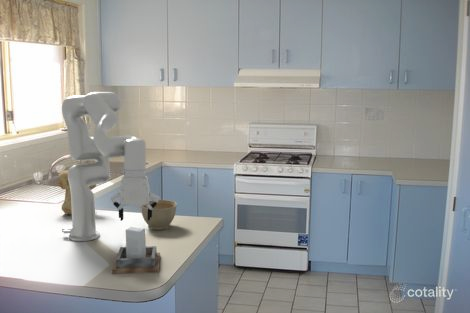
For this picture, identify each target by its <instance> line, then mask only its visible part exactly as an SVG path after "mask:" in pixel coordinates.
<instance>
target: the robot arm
mask: <svg viewBox="0 0 470 313" xmlns="http://www.w3.org/2000/svg"><path fill="white" fill-rule="evenodd" d="M121 102H122V101H121V99H120V96H118V94H117V93H116V92H114V91H113V92H112V91H93V92H90V93H89V92H88V93H87V94H86V95H72V96H67V97H66V98H65V99H64V100H63V101H62V105H61V113H62V118H63V120H64V123H65V125H66V129H67V131H66V132H67V140H68V143H67V144H68V152H69V156H70V158H71V159H72V160H73V161H79V162H80V161H89V160H90V161H91V160H94V162H84V163H78V164H77V163H76V164H74V165H72V166H70V167H69V168H68V180H69V184H70V190H71V206H72V215H71V226H70V227H62V228H61V229H62V230H61V232H62V233H63V234H68V238H69V240H71V241H73V242H87V241H88V242H89V241H92V240H96V239H98V238H100V236H101V233H100V232H99V231H98V230H97V227H96V201H95V197H96V196H95V193H94V192H93V191H92V190H90V189H89V186H91V185H96V184H97V185H102V184H106V183H107V182H109V180H110V177H111V166H110V165H111V164H110V159H111V158H112V159H113V158H120V157H121V158H122V157H123V166H124V167H123V169H120V171H119V174H120V175H121V174H122V175H123V176H122V178H121V181H120V192H118V193H116V194H114V195H112V196H111V197H110V202H112V204H113V206H114V207H116V209H117V210H118V219H120V221H123V220H124V208H123V207H124V206H125V207H126V206H132V207H134V206H135V207H136V206H137V207H138V206H140V207H141V206H144V205H146V206H147V207H148V221H150V218H152V209H153V208H154V207H155V206H156V205H157V203H158V201H159V200H161V199H160V198H161V197H160V196H159V195H157V194H155V193H153V192H151V191H150V183H149V178H148V176H147V174H146V173H147V170H146V168H147V166H146V164H147V162H146V160H147V157H146V155H147V154H146V153H147V152H146V151H147V150H146V149H147V148H146V141H145V139H144V138H143V139H142V138H138V137H136V136H135V135H131V134H130V135H117V136H108V135H107V134H106V133H107V132H109V131H111V130H112V129H113V128H115V126H116V125H117V123H118V121H119V119H118V114H116V113H118V112H119V111H120V110H121V107H122V103H121ZM83 117H90V119H91V120H92V121H93V123H94V125H95V126H94V128H93V135H92V136H90V132H89V131H90V129H89V125H88V123H87V122H86V120H85V119H84V118H83ZM97 185H96V186H97ZM150 197H151V198H153V200H155V201H154V202H153V203H152V204H151V203H150V202H149V201H151V200H150V199H151V198H150ZM117 199H120V203H119V202H118V201H117Z"/></svg>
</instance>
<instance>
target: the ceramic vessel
mask: <svg viewBox="0 0 470 313" xmlns="http://www.w3.org/2000/svg"><path fill="white" fill-rule="evenodd" d="M68 170H69V169H68ZM68 170H62V171H61V172H60V173H59V174H58V178H59V179H58V181H57V184H58V185H59V188H61V190H65V194H64V200H63V201H64V202H63V203H62V204H61V211H62V212H63V213H65V215H67V216H69V215H70V216H72V206H71V190H70V184H69V180H68ZM97 185H98V184H96V185H91V186H89V189H90V190H91V191H92V190H93V189H95V188H96V186H97Z"/></svg>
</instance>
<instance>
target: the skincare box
mask: <svg viewBox="0 0 470 313" xmlns="http://www.w3.org/2000/svg"><path fill="white" fill-rule="evenodd" d="M146 242H147V241H146V228H144V227H134V226H131V227H129V228H127V229H125V247H126V258H146Z"/></svg>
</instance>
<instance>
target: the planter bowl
mask: <svg viewBox="0 0 470 313" xmlns="http://www.w3.org/2000/svg"><path fill="white" fill-rule="evenodd" d="M154 201H155V199H151V200H149V202H150V203H151V204H152V203H153V202H154ZM177 206H178V205H177V202H176V201H173V200H169V199H159V201H158V203H157V205H156V206H155V207H154V208H153V209H152V218H150V221H148V207H147V206H146V205H144V206H140V209H141V215H142V218H143V220H144V221H145V224H147V225H148V228H149V229H151V230H156V231H161V230H167V229H168V228H170V225H171V223H172V222H173V220H174V219H175V216H176V211H177Z"/></svg>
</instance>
